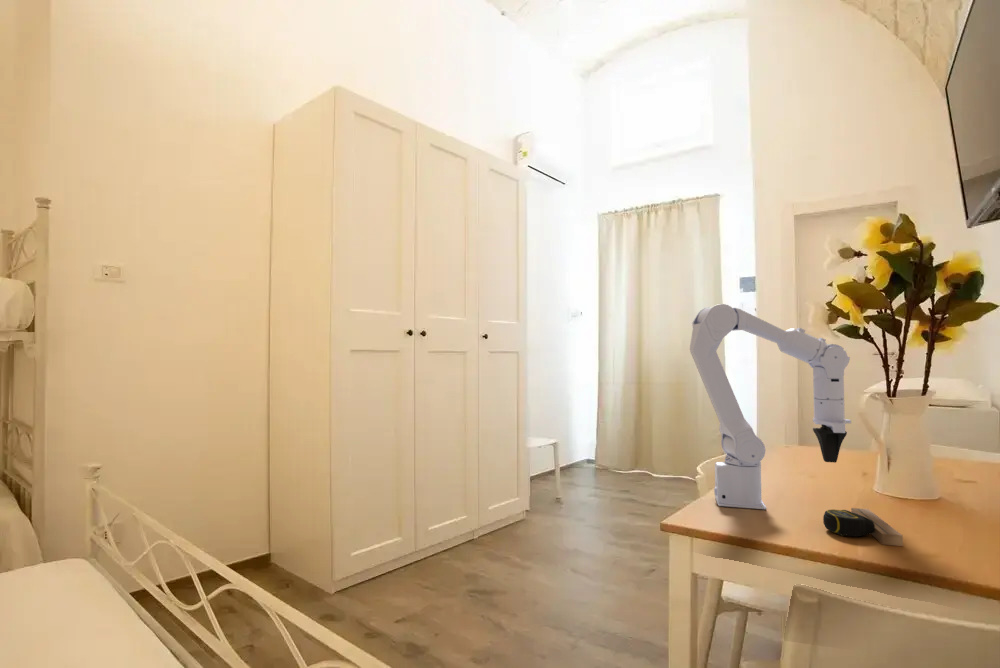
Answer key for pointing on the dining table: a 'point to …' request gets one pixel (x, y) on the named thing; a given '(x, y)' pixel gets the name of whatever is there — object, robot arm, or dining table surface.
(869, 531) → the tape measure
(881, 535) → the board
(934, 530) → the dining table surface
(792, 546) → the dining table surface
